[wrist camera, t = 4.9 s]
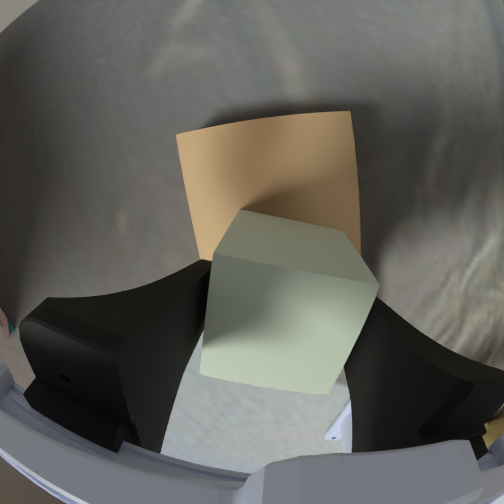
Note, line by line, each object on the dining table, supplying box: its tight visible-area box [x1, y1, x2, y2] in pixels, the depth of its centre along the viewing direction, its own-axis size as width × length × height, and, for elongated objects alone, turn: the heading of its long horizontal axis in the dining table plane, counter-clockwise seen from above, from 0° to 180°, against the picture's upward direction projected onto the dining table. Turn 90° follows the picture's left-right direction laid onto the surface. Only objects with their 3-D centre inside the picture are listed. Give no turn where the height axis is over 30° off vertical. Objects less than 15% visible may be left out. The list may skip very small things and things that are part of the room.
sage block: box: [200, 209, 380, 395], centre depth 11 cm, size 5×5×6 cm
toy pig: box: [482, 414, 504, 447], centre depth 20 cm, size 10×12×11 cm
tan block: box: [176, 111, 361, 261], centre depth 15 cm, size 8×14×3 cm, turn 9°
